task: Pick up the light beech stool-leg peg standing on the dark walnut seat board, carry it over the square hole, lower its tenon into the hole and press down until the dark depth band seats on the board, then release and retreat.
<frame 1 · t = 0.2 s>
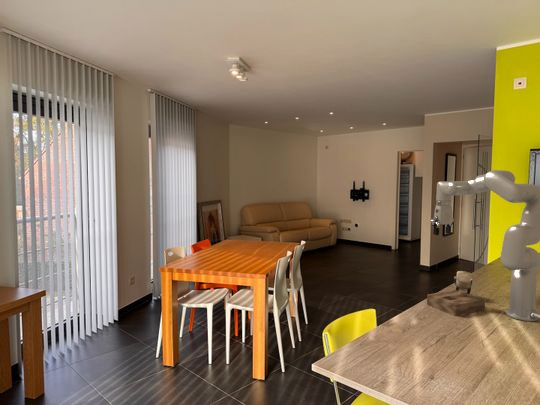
hand: (442, 234, 204), 31 cm above the table, tool pointing down, fingers open, 9 cm apart
coffee mug: (462, 296, 194), on the table
board: (455, 307, 177), on the table
peg: (462, 295, 179), point 5 cm above the table, touching board
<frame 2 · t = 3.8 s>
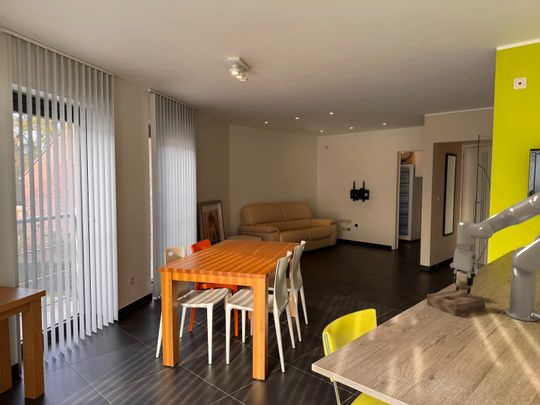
hand: (463, 283, 178), 11 cm above the table, tool pointing down, fingers closed on peg, 6 cm apart
peg: (462, 295, 179), point 5 cm above the table, touching board, gripper
everything else where it was.
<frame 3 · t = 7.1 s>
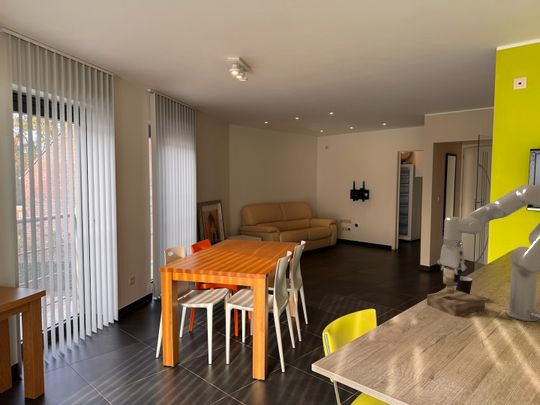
hand: (450, 280, 175), 14 cm above the table, tool pointing down, fingers closed on peg, 6 cm apart
peg: (449, 292, 175), point 8 cm above the table, touching gripper
everything else where it was.
when the fingers open (7 cm above the table, at t = 10.5 s): peg stays where it is, resting on board.
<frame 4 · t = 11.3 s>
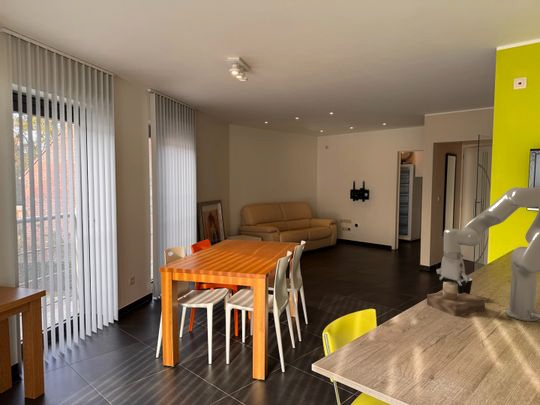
hand: (452, 290, 175), 9 cm above the table, tool pointing down, fingers open, 9 cm apart
peg: (449, 307, 175), point 1 cm above the table, touching board
everything else where it was.
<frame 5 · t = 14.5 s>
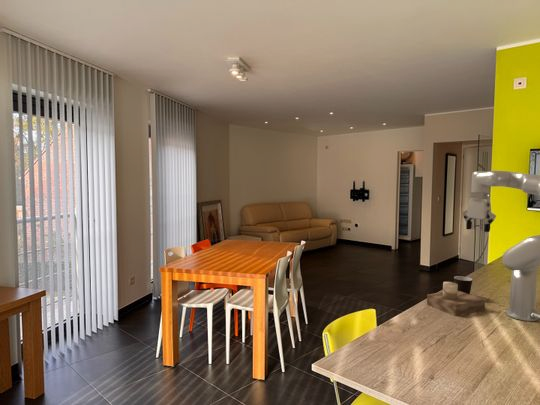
hand: (477, 230, 183), 36 cm above the table, tool pointing down, fingers open, 9 cm apart
nothing on the table moved.
at the end: peg 0.0 cm from the target spot on the board, point 0.6 cm above the board's base; peg tilted 0°; the gripper is holding nothing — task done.
